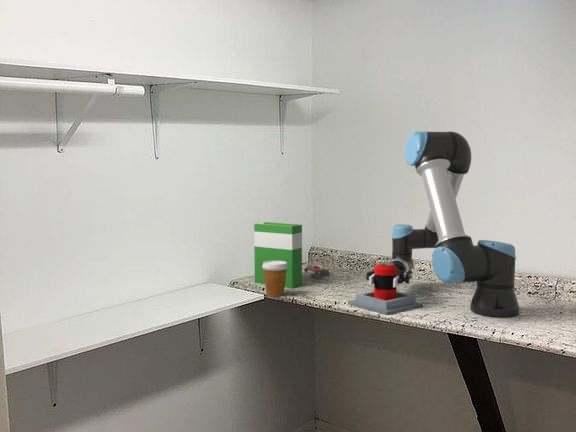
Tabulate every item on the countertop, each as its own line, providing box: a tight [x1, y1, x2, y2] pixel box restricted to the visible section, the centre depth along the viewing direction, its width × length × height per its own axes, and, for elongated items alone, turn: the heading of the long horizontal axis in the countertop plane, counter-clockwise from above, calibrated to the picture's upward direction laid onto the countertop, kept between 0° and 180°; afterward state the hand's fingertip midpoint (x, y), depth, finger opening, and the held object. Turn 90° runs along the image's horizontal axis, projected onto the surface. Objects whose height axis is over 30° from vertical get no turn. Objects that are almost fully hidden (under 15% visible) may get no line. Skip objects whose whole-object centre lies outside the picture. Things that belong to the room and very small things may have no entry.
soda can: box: [373, 261, 398, 301], centre depth 208 cm, size 8×8×12 cm
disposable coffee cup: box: [262, 261, 288, 298], centre depth 224 cm, size 10×10×12 cm
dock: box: [347, 290, 424, 316], centre depth 208 cm, size 18×18×4 cm
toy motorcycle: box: [303, 264, 330, 280], centre depth 259 cm, size 9×4×20 cm
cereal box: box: [253, 221, 303, 289], centre depth 241 cm, size 18×7×24 cm, turn 58°
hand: (382, 282), depth 203 cm, fingers closed on soda can, 7 cm apart
